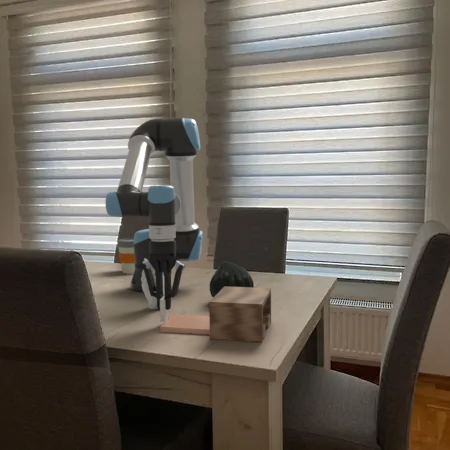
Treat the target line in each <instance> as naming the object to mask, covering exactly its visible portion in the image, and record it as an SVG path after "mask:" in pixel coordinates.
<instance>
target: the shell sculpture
mask: <svg viewBox="0 0 450 450" xmlns="http://www.w3.org/2000/svg"><path fill="white" fill-rule="evenodd" d="M144 260H145V261H143V263H145V262H147V261H148V260H147V259H146V258H144ZM151 270H152V274H153V278H154V282H155V286H156V275H155V270H154V268H153V267H152V265H151ZM141 281H142V289H143V291H144V292H143V293H144V296H145V298H146V300H147V303H148V308H149V309H150V310H157V298H156V297H154V296H151V295H150V292H149V288H148V284H147V280H146V276H145V272H144V270H143V271H142V277H141ZM163 294H164V296H162V297H165V290H164V275H163Z"/></svg>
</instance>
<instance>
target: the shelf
mask: <svg viewBox="0 0 450 450" xmlns="http://www.w3.org/2000/svg"><path fill="white" fill-rule="evenodd" d="M208 302H209V303H208V306H209V307H208V308H209V309H208V310H209V311H208V313H209V314H208V316H209V317H210V335H209V339H210V338H211V339H210V340H220V339H228V340H227V341H235V340H243V341H242V342H250V341H260V342H259V343H263V342H264V340H263V339H265V337H266V335H267V334H266V330H267V329H268V328H269V327H270V325H271V323H272V288H271V287H254V288H253V287H228V286H224V287H223V288H222V289H221V290H220V291H219V292H218V293H217V295H216V296H215V297H214V298H213V297H212V298H211V300H209V301H208ZM266 328H267V329H266ZM269 329H270V328H269ZM262 341H263V342H262Z"/></svg>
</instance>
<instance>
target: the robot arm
mask: <svg viewBox="0 0 450 450" xmlns="http://www.w3.org/2000/svg"><path fill="white" fill-rule="evenodd" d="M127 149H128V152H127V156H126V159H125V162H124V166H123V169H122V172H121V175H120V180H119V183H118V187H117V190H116V191H112V192H108V193H107V194H106V196H105V210H106V213H107V215H108V216H110V217H116V218H117V217H119V218H127V217H131V218H132V217H133V218H135V217H148V228H145V229H141V230H138V231H136V232H135V233H134V236H133V238H134V258H135V270H134V274H132V277H131V281H130V289H131V290H133V291H135V292H143V293H144V291H143V289H142V281H141V277H142V271H143V270H144V272H145V276H146V280H147V284H148V288H149V292H150V295H151V296H154V297H156V298H157V306H156V307H157V308H156V310H159V313H160V314H159V315H160V317H159V320H160V322H163V323H165V322H166V321H167V320H168V319H169V311H170V310H171V308H172V298H174V297H176V296H177V295H178V291H179V286H180V282H181V279H182V274H183V271H184V269H185V268H186V264H185V263H182V262H192V261H198V260H199V259H200V257H201V254H202V248H203V247H202V245H203V239H204V232H203V230H200V226H199V225H198V224H197V223H196V222H195V221H196V220H195V219H196V218H195V215H196V214H195V213H196V212H195V192H194V190H195V189H194V188H195V187H194V159H195V158H196V157H197V156H198V155H197V152H199V151H201V139H200V133H199V127H198V123H197V122H196V120H195V119H193V118H186V117H181V118H152V119H149V120H147V121H145V122H143V123H141V124H140V125H139V126H138V127H137V128H136V129H134V130H133V132H132V133H131V135H130V137H129V138H128V142H127ZM155 152H164V155H165V157H166V159H167V160H168V161H169V177H170V180H169V181H170V185H150V186H148V189H147V190H148V191H143V188H144V183H145V179H146V175H147V171H148V166H149V163H150V159H151V156H153V154H154V153H155ZM144 258H146V259H147V260H148V261H147V262H145V263H143V261H145V260H144ZM151 265H152V267H153V268H154V270H155V275H156V286H155V282H154V278H153V274H152V270H151ZM174 267H175V273H174V277H173V280H172V270H173V269H174ZM163 275H164V290H165V297H162V296H164V294H163ZM172 281H173V282H172Z"/></svg>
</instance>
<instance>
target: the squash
mask: <svg viewBox="0 0 450 450" xmlns="http://www.w3.org/2000/svg"><path fill="white" fill-rule="evenodd" d="M254 284H255V283H254V280H253V278H252V276H251V273H249V271H248V270H247V269H246V268H244V267H243V266H240V265H239V264H236V263H233V262H230V261H227V260H226V261H225V260H222V261H221V263H220V264H219V265H218V268H216V271H215V272H214V273H213V276H212V277H211V279H210V282H209V293H210V295H211V297H212V299H213V298H214V297H215V296H216V295H217V293H218V292H219V291H220V290H221V289H222V288H223V287H224V286H228V287H253V288H255V286H254Z"/></svg>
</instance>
